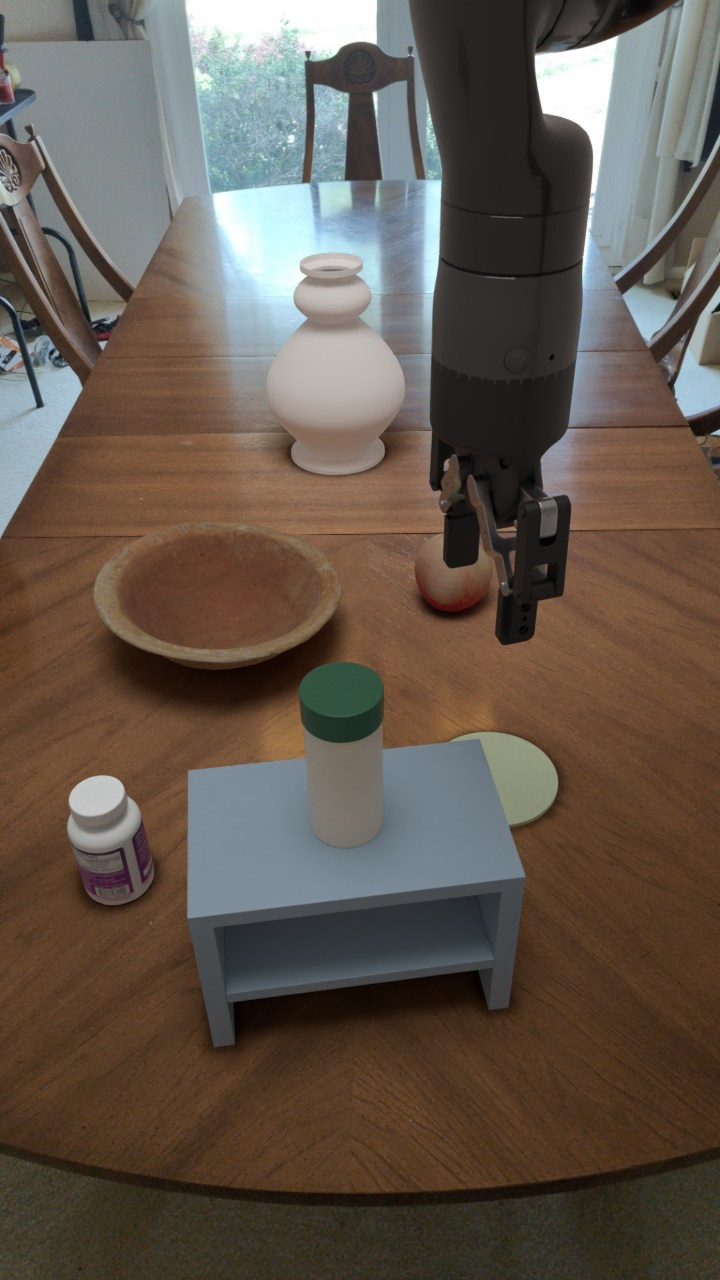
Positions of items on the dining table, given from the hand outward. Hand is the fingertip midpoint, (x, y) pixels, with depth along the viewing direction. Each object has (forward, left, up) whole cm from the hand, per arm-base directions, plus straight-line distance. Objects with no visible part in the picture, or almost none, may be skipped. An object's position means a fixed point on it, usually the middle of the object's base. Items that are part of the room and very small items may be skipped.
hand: (485, 599), depth 61 cm
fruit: (+35, -6, -26) cm, 44 cm away
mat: (+9, -4, -26) cm, 27 cm away
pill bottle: (+3, +27, -26) cm, 37 cm away
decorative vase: (+71, +2, -26) cm, 75 cm away
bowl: (+32, +18, -26) cm, 45 cm away
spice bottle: (-6, +10, -12) cm, 16 cm away
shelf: (-6, +10, -26) cm, 28 cm away
